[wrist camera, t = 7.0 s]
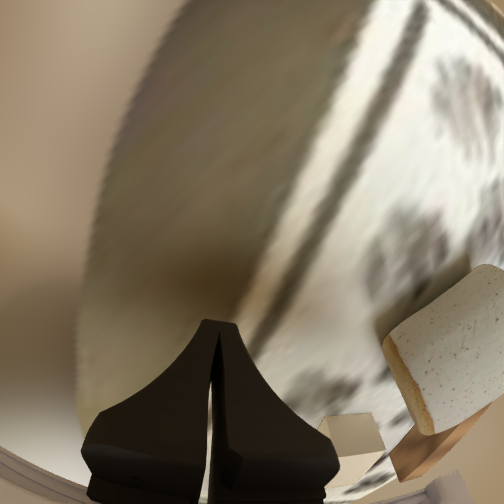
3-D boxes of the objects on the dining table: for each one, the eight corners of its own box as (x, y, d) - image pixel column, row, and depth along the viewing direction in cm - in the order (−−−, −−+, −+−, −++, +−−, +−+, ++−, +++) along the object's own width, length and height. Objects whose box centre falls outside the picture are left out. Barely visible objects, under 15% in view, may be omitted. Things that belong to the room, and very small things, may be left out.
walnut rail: (409, 449, 23) (421, 476, 19) (388, 454, 23) (399, 482, 19) (532, 246, 15) (565, 266, 11) (516, 238, 14) (554, 260, 11)
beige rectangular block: (343, 450, 21) (353, 484, 18) (302, 453, 21) (309, 489, 17) (370, 411, 19) (386, 450, 16) (324, 414, 19) (336, 457, 15)
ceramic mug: (359, 318, 16) (419, 423, 9) (466, 242, 14) (555, 305, 7) (400, 399, 19) (436, 472, 12) (479, 343, 18) (528, 402, 11)
